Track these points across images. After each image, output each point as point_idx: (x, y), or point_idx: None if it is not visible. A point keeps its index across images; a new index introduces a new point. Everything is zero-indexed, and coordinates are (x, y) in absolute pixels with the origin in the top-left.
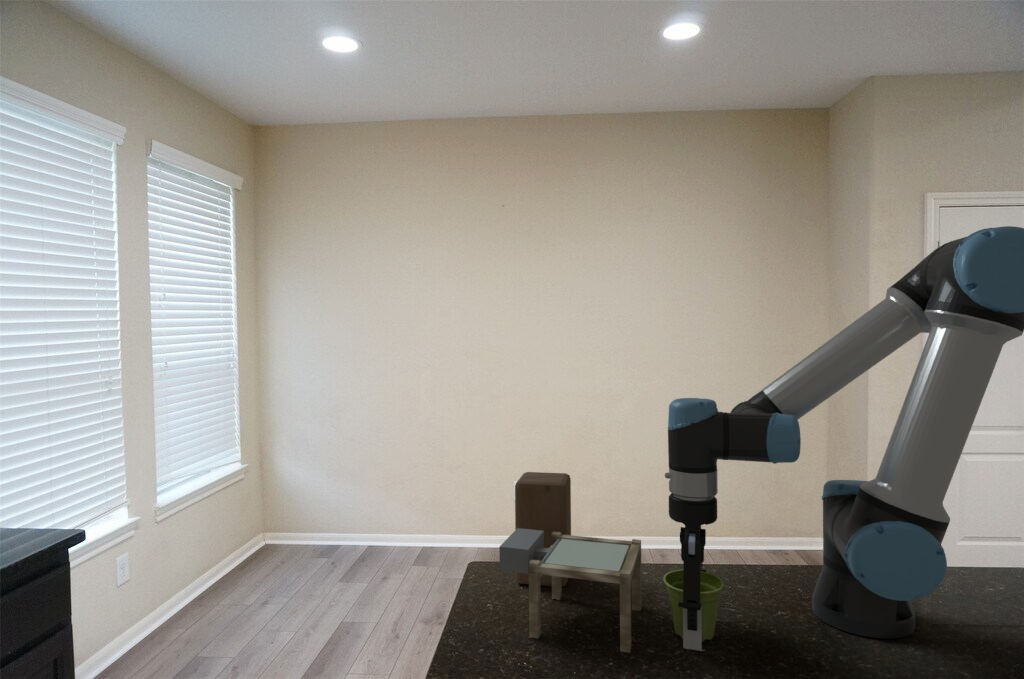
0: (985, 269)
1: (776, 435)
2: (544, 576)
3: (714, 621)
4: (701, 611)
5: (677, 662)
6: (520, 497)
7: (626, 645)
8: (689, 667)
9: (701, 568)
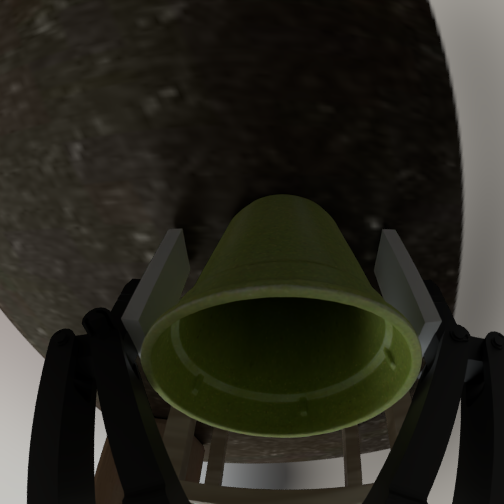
0: None
1: None
2: (192, 446)
3: (311, 219)
4: (429, 309)
5: (433, 274)
6: None
7: None
8: (451, 251)
9: (108, 355)
